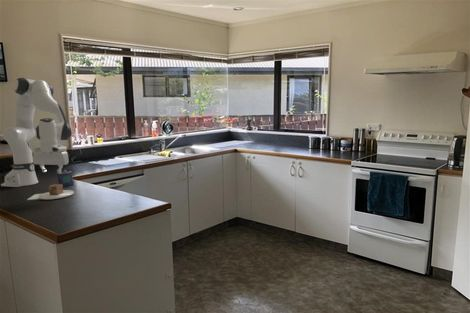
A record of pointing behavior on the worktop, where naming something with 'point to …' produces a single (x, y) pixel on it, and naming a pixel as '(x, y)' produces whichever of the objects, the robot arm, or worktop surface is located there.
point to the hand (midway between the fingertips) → (51, 172)
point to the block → (56, 189)
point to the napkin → (34, 197)
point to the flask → (65, 178)
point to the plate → (64, 194)
